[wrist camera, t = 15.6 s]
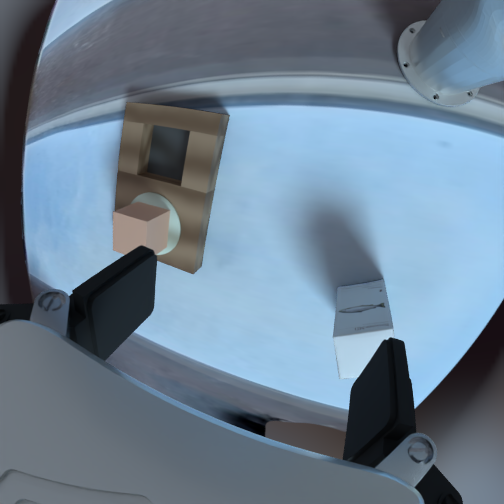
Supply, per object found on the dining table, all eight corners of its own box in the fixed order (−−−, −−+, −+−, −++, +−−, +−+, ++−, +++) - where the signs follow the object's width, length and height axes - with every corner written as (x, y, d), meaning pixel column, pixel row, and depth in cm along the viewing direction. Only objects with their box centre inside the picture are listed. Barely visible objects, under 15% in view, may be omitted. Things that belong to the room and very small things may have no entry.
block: (138, 201, 44) (113, 211, 38) (170, 210, 42) (147, 221, 37) (136, 236, 46) (113, 250, 41) (167, 247, 45) (145, 262, 40)
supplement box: (384, 277, 41) (396, 327, 29) (388, 319, 43) (396, 374, 31) (336, 285, 43) (331, 336, 32) (342, 325, 45) (339, 381, 34)
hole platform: (138, 102, 41) (125, 102, 38) (229, 115, 38) (220, 114, 35) (124, 237, 51) (112, 244, 48) (201, 266, 48) (192, 275, 46)
